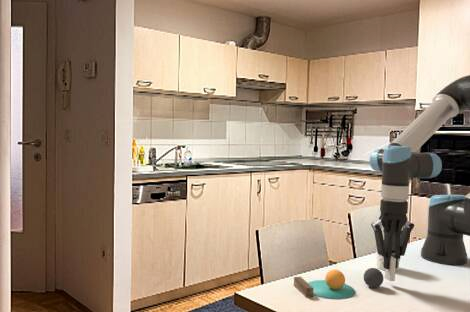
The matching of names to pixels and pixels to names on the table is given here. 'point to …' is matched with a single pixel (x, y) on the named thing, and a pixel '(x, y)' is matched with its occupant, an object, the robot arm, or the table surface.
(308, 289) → the wall
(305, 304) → the table surface
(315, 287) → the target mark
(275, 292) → the table surface
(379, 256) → the white cup
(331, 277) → the object ball
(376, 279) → the dark grey sphere
